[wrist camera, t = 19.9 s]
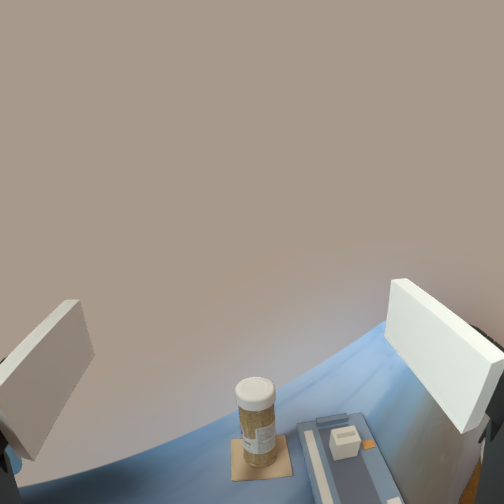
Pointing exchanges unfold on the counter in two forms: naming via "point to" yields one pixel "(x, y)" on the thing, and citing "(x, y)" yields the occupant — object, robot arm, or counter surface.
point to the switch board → (346, 465)
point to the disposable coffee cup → (472, 483)
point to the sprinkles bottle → (257, 420)
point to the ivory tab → (344, 442)
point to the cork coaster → (247, 472)
